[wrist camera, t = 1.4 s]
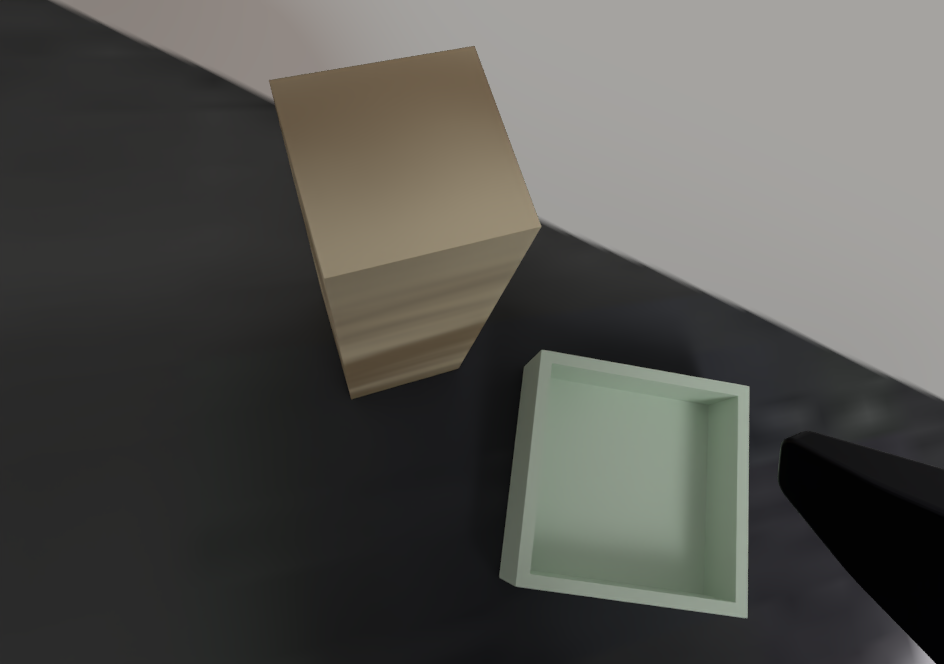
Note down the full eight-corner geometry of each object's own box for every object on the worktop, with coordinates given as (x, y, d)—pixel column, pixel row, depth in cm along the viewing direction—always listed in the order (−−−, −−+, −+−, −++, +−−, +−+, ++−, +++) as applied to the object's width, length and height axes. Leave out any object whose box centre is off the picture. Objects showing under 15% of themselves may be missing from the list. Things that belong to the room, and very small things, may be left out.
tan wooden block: (458, 368, 23) (541, 225, 11) (351, 399, 22) (324, 278, 10) (426, 269, 24) (474, 45, 12) (322, 295, 23) (269, 79, 11)
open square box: (705, 605, 22) (747, 618, 19) (499, 577, 21) (515, 586, 18) (710, 399, 24) (749, 386, 21) (523, 366, 23) (541, 349, 21)
